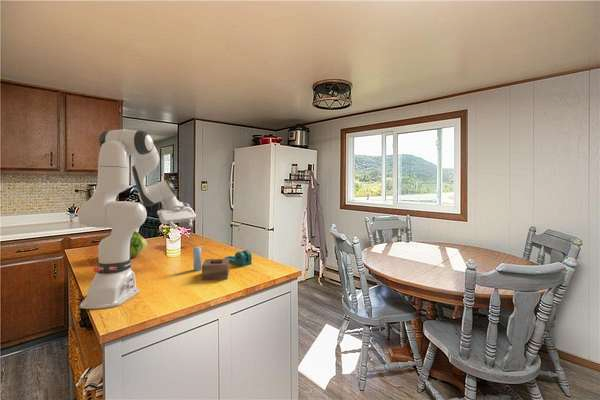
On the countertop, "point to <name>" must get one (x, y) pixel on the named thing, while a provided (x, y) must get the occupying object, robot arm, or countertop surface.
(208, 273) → the brown toaster
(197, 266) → the blue dowel
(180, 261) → the countertop surface
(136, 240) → the lettuce
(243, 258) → the teal elongated piece
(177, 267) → the countertop surface
